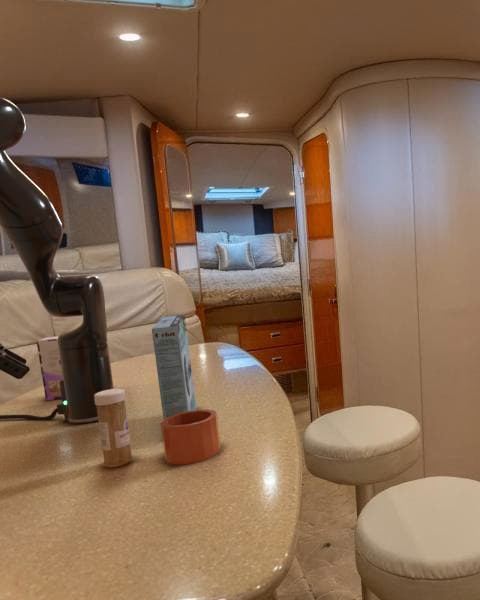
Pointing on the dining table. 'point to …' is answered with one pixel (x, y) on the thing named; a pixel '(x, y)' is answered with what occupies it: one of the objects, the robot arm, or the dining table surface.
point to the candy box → (50, 366)
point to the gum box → (173, 365)
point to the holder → (190, 436)
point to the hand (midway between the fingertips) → (24, 369)
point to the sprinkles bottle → (113, 427)
